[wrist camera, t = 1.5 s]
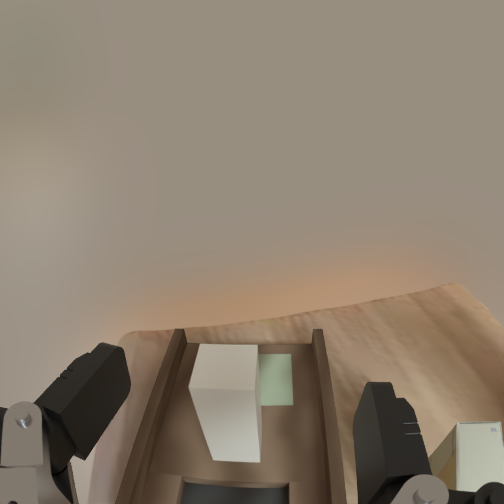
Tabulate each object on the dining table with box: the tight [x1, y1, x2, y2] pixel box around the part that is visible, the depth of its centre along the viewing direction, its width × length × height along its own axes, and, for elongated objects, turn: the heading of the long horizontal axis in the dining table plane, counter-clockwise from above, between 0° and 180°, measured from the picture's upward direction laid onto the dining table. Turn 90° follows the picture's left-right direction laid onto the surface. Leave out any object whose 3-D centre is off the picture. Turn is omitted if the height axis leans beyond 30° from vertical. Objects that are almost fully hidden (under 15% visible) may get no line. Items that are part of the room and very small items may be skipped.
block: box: [189, 344, 262, 462], centre depth 24 cm, size 4×4×12 cm
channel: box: [115, 329, 347, 504], centre depth 28 cm, size 19×28×4 cm
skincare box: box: [428, 422, 504, 492], centre depth 16 cm, size 6×4×12 cm
